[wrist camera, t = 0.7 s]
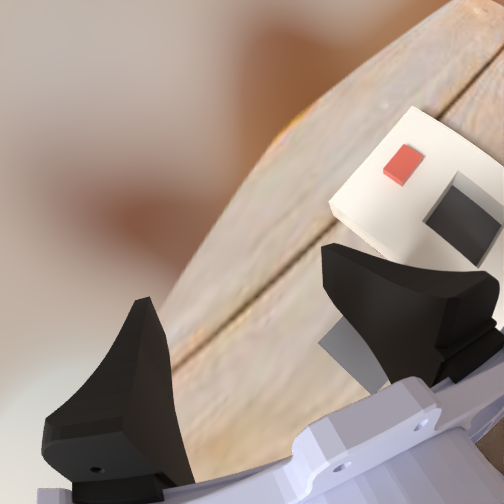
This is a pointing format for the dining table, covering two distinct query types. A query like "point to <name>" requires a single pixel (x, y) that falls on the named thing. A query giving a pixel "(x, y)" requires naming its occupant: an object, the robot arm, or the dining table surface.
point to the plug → (354, 355)
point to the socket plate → (429, 201)
